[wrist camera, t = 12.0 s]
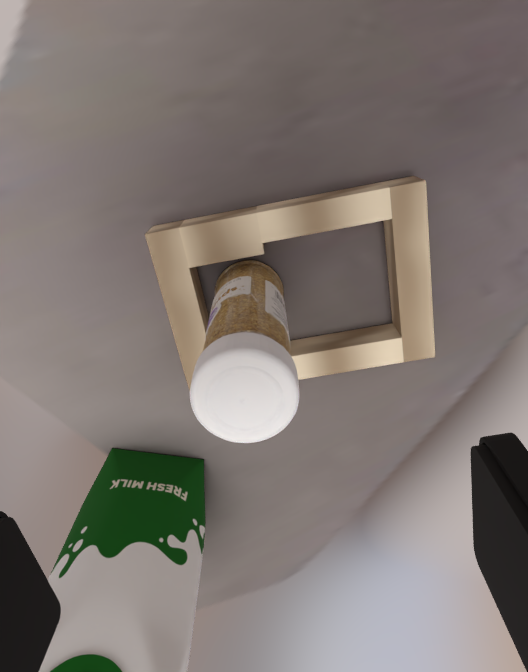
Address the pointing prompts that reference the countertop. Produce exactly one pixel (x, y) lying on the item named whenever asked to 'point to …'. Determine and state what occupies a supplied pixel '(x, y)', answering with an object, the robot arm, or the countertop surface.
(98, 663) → the milk carton
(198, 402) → the sprinkles bottle
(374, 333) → the wooden frame
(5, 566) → the robot arm
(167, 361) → the countertop surface
